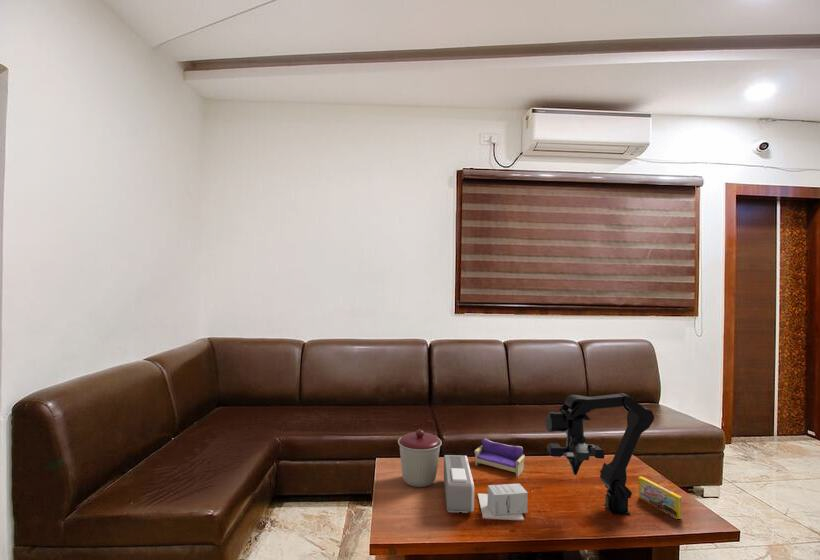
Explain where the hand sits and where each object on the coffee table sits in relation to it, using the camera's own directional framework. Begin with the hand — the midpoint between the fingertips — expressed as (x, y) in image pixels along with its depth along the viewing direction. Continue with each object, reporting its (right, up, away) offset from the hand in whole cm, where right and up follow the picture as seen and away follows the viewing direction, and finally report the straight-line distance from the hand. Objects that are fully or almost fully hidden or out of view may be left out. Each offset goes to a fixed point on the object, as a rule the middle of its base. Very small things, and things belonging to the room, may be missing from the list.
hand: (574, 474), depth 147 cm
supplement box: (-19, -8, 0) cm, 20 cm away
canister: (-56, -13, +20) cm, 61 cm away
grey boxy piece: (-42, -13, +8) cm, 44 cm away
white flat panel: (-27, -13, +1) cm, 30 cm away
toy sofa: (-20, -14, +34) cm, 42 cm away
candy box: (+32, -14, +2) cm, 35 cm away
